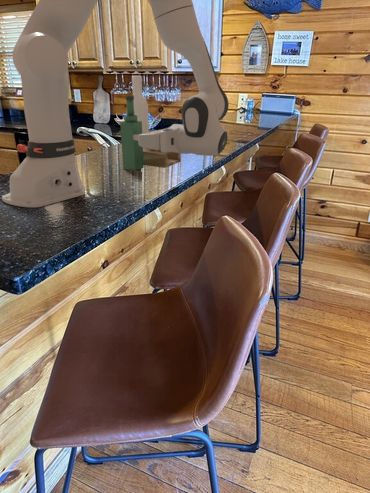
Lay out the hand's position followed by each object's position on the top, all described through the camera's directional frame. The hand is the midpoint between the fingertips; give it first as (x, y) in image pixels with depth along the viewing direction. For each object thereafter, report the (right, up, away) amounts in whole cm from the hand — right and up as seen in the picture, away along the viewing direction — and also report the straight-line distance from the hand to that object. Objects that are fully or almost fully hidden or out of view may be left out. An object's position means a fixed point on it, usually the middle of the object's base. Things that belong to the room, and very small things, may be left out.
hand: (142, 135), depth 122 cm
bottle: (-4, -1, +27) cm, 27 cm away
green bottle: (-4, -10, +7) cm, 13 cm away
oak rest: (+5, -6, +15) cm, 17 cm away
